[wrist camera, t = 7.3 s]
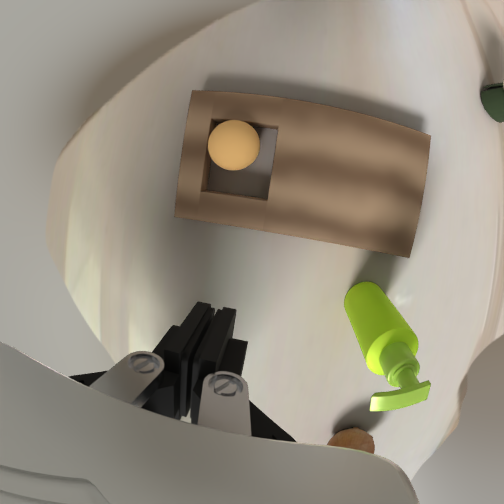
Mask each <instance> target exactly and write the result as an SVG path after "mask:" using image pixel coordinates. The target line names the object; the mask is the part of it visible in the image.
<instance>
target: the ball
mask: <svg viewBox="0 0 504 504" xmlns="http://www.w3.org/2000/svg"><path fill="white" fill-rule="evenodd" d="M259 150H260V140H259V136H258V134H257V132H256V131H255V129H254V128H253V127H252V126H250V125H249V124H248V123H246V122H243V121H240V120H229V121H225V122H223V123H221V124H219V125H218V126H217V127H216V128H215V129H214V130H213V131H212V133H211V134H210V137H209V140H208V151H209V154H210V157H211V158H212V160H213V161H214V162H215V163H216V164H217V165H218V166H220V167H222V168H224V169H227V170H240V169H243V168H246V167H247V166H249V165H250V164H252V163H253V162H254V160H255V159H256V157H257V156H258V153H259Z"/></svg>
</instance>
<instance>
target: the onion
mask: <svg viewBox="0 0 504 504" xmlns="http://www.w3.org/2000/svg"><path fill="white" fill-rule="evenodd" d="M327 445H328V446H336V447H345V448H350V449H355V450H361V451H365V452H368V453H372V454H374V450H375V445H374V441H373V437H372V436H371V435H369V434H368V433H367V432H365V431H364V430H360V429H358V427H354V428H352V429H346V430H342V431H340V432H338V433H337V434H335V435H334V436H333V437H332V438H331V439H330V441H329V442H328V444H327Z"/></svg>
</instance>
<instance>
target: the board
mask: <svg viewBox="0 0 504 504" xmlns="http://www.w3.org/2000/svg"><path fill="white" fill-rule="evenodd" d="M229 120H240V121H243V122H246V123H248V124H249V125H250V126H256V127H264V128H271V129H278V135H277V142H276V148H275V155H274V161H273V168H272V174H271V181H270V187H269V194H268V199H263V198H257V197H250V196H243V195H237V194H230V193H223V192H215V191H208V190H207V187H208V179H209V172H210V165H211V157H210V154H209V151H208V140H209V137H210V134H211V133H212V131H213V130H214V129H215V128H216V125H217V123H223V122H225V121H229ZM430 140H431V135H428V134H425V133H422V132H420V131H417V130H414V129H411V128H408V127H405V126H402V125H399V124H396V123H393V122H390V121H386V120H383V119H380V118H376V117H373V116H369V115H365V114H361V113H358V112H354V111H350V110H345V109H341V108H337V107H332V106H327V105H322V104H317V103H312V102H307V101H301V100H295V99H288V98H282V97H274V96H266V95H258V94H248V93H236V92H221V91H196V90H192V94H191V99H190V105H189V110H188V116H187V122H186V128H185V134H184V141H183V147H182V154H181V162H180V169H179V177H178V186H177V194H176V204H175V214H174V217H179V218H186V219H192V220H199V221H205V222H211V223H218V224H224V225H230V226H236V227H243V228H249V229H255V230H261V231H267V232H272V233H278V234H284V235H290V236H295V237H301V238H307V239H312V240H318V241H323V242H329V243H334V244H340V245H345V246H350V247H356V248H361V249H366V250H371V251H377V252H382V253H387V254H392V255H397V256H402V257H407V258H409V257H410V254H411V250H412V246H413V242H414V238H415V233H416V229H417V224H418V220H419V215H420V210H421V205H422V199H423V193H424V187H425V181H426V174H427V167H428V159H429V150H430Z"/></svg>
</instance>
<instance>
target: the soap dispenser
mask: <svg viewBox="0 0 504 504" xmlns="http://www.w3.org/2000/svg"><path fill="white" fill-rule="evenodd" d="M344 307H345V310H346V313H347V315H348V317H349V320H350V322H351V325H352V327H353V330H354V332H355V335H356V337H357V340H358V342H359V345H360V347H361V350H362V353H363V355H364V358H365V360H366V363H367V366H368V368H369V369H370V370H371V371H372V372H374V373H375V374H378V375H385V377H386V379H387V381H388V383H389V384H390V385H391V386H394V387H400V388H401V389H399V390H395V391H389V392H378V393H374V394H373V395H372V397H371V403H370V411H389V410H395V409H400V408H404V407H407V406H410V405H413V404H416V403H419V402H421V401H424V400H426V399H427V397H428V393H429V390H430V386H431V383H430V382H429V380H428V381H425V382H422V383H419V381H418V379H417V378H416V376H417V375H418V373H419V369H420V366H419V363H418V361H417V359H416V358H415V355H416V353H417V350H418V339H417V336H416V335H415V333H414V332H413V331H412V329H411V328H410V326H409V325H408V324H407V322H406V321H405V320H404V318H403V317H402V316H401V314H400V313H399V312H398V310H397V309H396V308H395V306H394V305H393V304H392V303H391V301H390V300H389V299H388V297H387V296H386V295H385V294H384V292H383V291H382V290H381V288H380V287H379V286H378V285H376V284H375V283H372V282H361V283H358V284H356V285H355V286H353V287H352V288H351V289H350V290H349V291H348V293H347V295H346V297H345V300H344Z"/></svg>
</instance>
